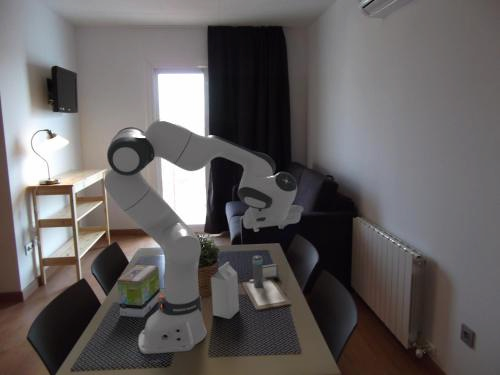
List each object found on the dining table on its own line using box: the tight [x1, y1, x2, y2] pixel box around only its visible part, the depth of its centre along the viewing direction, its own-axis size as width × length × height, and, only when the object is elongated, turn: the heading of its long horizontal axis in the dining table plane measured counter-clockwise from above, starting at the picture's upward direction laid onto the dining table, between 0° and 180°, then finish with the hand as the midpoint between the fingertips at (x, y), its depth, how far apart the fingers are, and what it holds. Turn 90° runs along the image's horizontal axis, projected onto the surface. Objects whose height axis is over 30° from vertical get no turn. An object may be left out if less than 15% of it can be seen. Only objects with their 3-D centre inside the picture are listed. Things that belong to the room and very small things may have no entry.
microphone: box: [252, 255, 264, 288], centre depth 160 cm, size 4×4×13 cm
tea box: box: [117, 264, 161, 318], centre depth 148 cm, size 15×10×15 cm
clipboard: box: [241, 278, 292, 312], centre depth 156 cm, size 14×24×2 cm, turn 14°
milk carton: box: [210, 261, 240, 320], centre depth 141 cm, size 7×7×19 cm
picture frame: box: [263, 263, 279, 279], centre depth 170 cm, size 8×1×6 cm, turn 104°
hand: (268, 228), depth 139 cm, fingers open, 8 cm apart
